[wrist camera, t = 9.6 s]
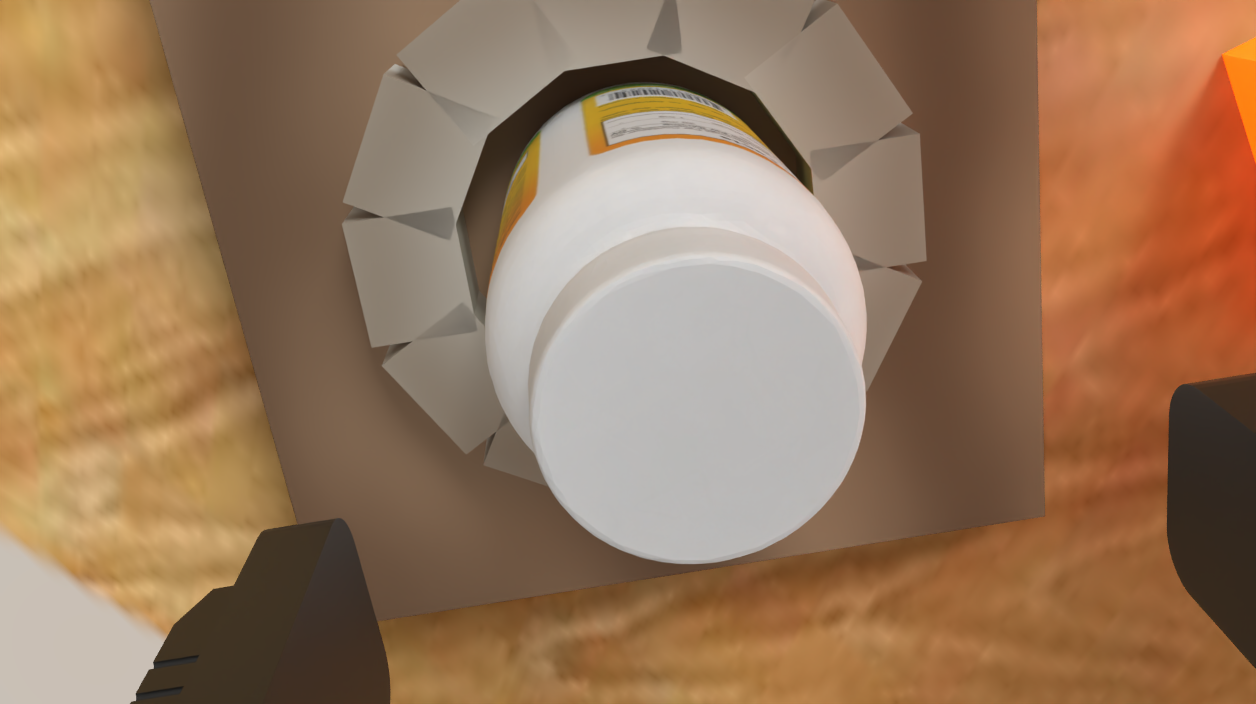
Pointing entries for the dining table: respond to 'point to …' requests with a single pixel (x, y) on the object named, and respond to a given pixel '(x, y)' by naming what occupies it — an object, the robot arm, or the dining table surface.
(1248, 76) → the orange juice
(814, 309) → the supplement bottle
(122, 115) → the dining table surface
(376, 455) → the stone ring base
